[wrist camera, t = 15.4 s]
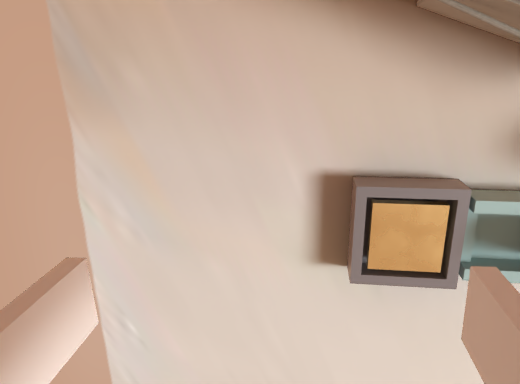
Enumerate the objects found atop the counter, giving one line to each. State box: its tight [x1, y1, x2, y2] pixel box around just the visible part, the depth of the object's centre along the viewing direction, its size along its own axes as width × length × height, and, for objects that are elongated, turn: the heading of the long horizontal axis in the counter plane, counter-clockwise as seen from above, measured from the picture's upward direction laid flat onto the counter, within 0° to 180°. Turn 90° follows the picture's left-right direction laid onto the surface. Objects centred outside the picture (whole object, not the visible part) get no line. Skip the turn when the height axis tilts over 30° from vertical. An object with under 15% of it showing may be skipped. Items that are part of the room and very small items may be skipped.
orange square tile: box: [366, 200, 450, 273], centre depth 39 cm, size 7×7×1 cm
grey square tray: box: [347, 176, 472, 289], centre depth 40 cm, size 10×10×4 cm
